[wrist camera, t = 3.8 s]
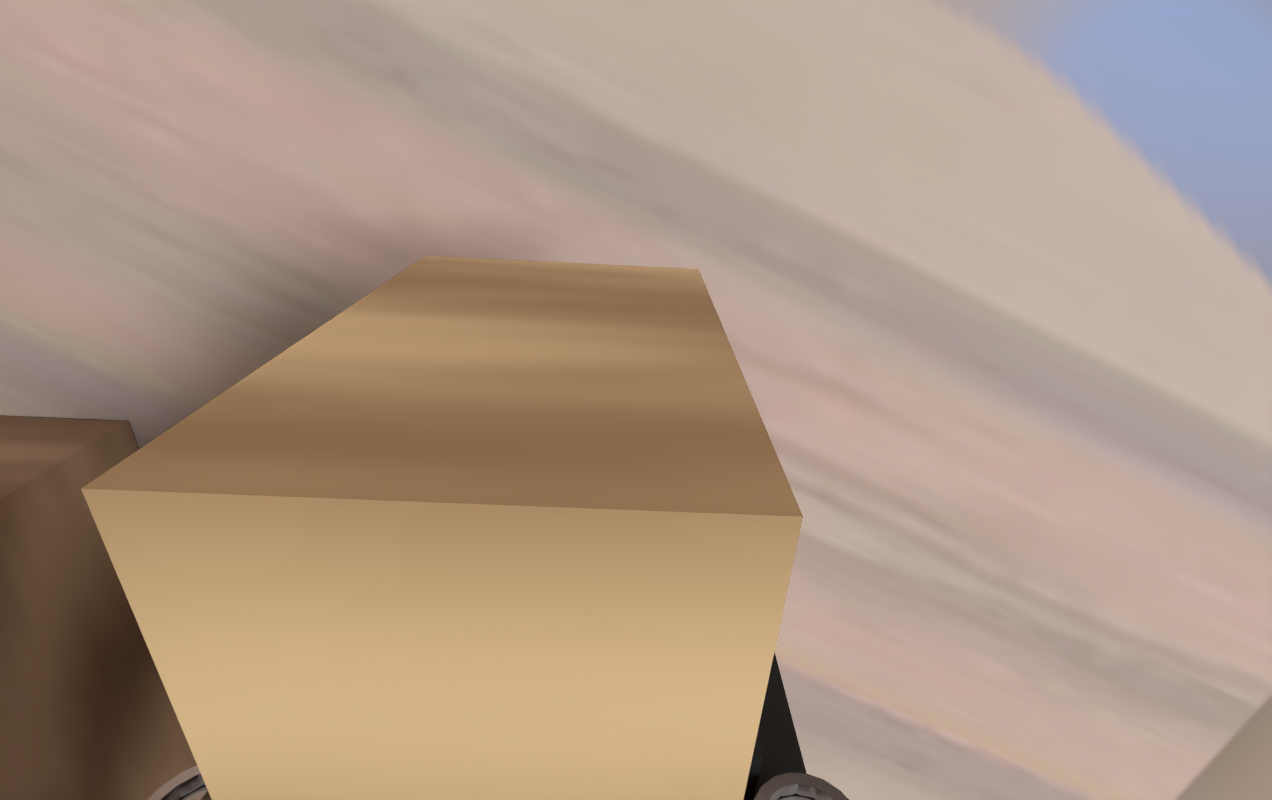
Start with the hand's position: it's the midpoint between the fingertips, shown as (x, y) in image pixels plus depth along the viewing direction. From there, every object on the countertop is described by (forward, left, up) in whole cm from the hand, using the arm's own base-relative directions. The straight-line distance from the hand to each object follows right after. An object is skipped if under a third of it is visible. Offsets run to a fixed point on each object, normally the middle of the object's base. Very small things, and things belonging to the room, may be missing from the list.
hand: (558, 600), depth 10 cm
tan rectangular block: (0, 0, -6) cm, 6 cm away
